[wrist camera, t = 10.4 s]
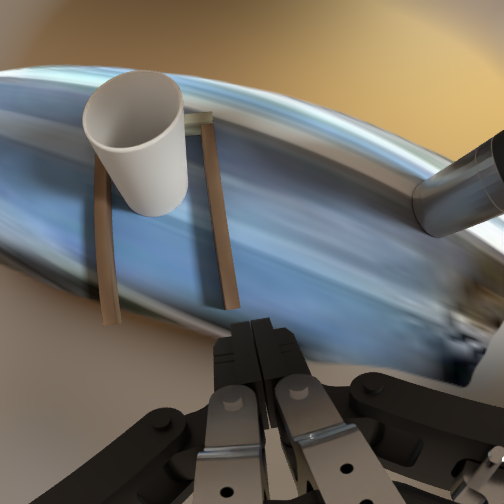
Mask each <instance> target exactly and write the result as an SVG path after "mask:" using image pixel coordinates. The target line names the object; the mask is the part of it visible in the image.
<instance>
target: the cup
mask: <svg viewBox="0 0 504 504" xmlns="http://www.w3.org/2000/svg"><path fill="white" fill-rule="evenodd" d="M83 128H84V131H85V134H86V136H87V138H88V140H89V141H90V143H91V145H92V147H93V148H94V150H95V152H96V154H97V155H98V157H99V159H100V160H101V162H102V164H103V165H104V167H105V169H106V170H107V172H108V174H109V175H110V177H111V179H112V180H113V182H114V184H115V185H116V187H117V188H118V190H119V192H120V193H121V195H122V196H123V198H124V200H125V201H126V203H127V204H128V206H129V207H130V208H131V209H132V210H133V211H135V212H136V213H138V214H140V215H143V216H147V217H158V216H162V215H165V214H168V213H170V212H171V211H173V210H174V209H176V208H177V207H178V206H179V205H180V204H181V202H182V201H183V199H184V197H185V195H186V193H187V189H188V176H187V161H186V146H185V128H184V108H183V97H182V93H181V90H180V88H179V86H178V85H177V84H176V83H175V81H173V80H172V79H171V78H170V77H168V76H166V75H164V74H162V73H159V72H155V71H149V70H138V71H131V72H127V73H124V74H121V75H118V76H116V77H114V78H112V79H110V80H108V81H107V82H105V83H104V84H103V85H101V86H100V87H99V88H98V89H97V90H96V91H95V92H94V93H93V95H92V96H91V97H90V99H89V100H88V102H87V104H86V106H85V109H84V112H83Z"/></svg>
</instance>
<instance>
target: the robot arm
mask: <svg viewBox="0 0 504 504" xmlns="http://www.w3.org/2000/svg"><path fill="white" fill-rule="evenodd" d="M413 209H414V213H415V216H416V218H417V220H418V222H419V224H420V225H421V227H422V228H423V229H424V230H425V231H426V232H427V233H428V234H430V235H431V236H434V237H438V238H440V237H445V236H447V235H450V234H453V233H456V232H458V231H461V230H464V229H467V228H469V227H472V226H475V225H477V224H480V223H482V222H485V221H488V220H490V219H493V218H495V217H498V216H500V215H503V214H504V130H503V131H501V132H500V133H498V134H497V135H495V136H494V137H492V138H491V139H489V140H488V141H486V142H484V143H483V144H481V145H480V146H479V147H477V148H476V149H474V150H473V151H471V152H469V153H468V154H466V155H465V156H463V157H462V158H460V159H458V160H457V161H455V162H454V163H452V164H451V165H449V166H447V167H446V168H444V169H443V170H441V171H440V172H438V173H436V174H435V175H433V176H432V177H430V178H428V179H427V180H425V181H424V182H422V183H420V184H419V185H418V186H417V187H416V188H415V190H414V193H413ZM230 325H231V334H232V336H231V337H224V338H219V339H218V340H217V342H216V343H215V345H214V347H213V355H214V393H213V394H212V395H211V397H210V400H209V404H208V405H207V406H205V407H204V408H202V409H200V410H198V411H196V412H193V413H190V414H187V415H183V414H182V413H181V412H180V411H179V410H176V409H174V408H159V409H155V410H153V411H151V412H149V413H148V414H146V415H145V416H144V417H143V418H141V419H140V420H139V421H138V422H137V423H135V424H134V425H133V426H132V427H130V428H129V429H128V430H127V431H126V432H125V433H123V434H122V435H121V436H119V437H118V438H117V439H116V440H114V441H113V442H112V443H111V444H109V445H108V446H107V447H105V448H104V449H103V450H102V451H100V452H99V453H98V454H96V455H95V456H94V457H93V458H91V459H90V460H89V461H87V462H86V463H85V464H83V465H82V466H81V467H79V468H78V469H77V470H76V471H74V472H73V473H71V474H70V475H69V476H67V477H66V478H64V479H63V480H62V481H60V482H59V483H58V484H56V485H55V486H54V487H52V488H51V489H49V490H48V491H46V492H45V493H44V494H42V495H41V496H39V497H38V498H36V499H35V500H34V501H32V502H31V503H29V504H182V503H183V502H184V501H185V500H186V499H187V498H188V497H189V496H190V495H191V494H192V493H193V504H504V408H501V407H496V406H492V405H488V404H484V403H480V402H476V401H473V400H468V399H465V398H461V397H458V396H454V395H451V394H447V393H444V392H440V391H437V390H433V389H429V388H426V387H423V386H420V385H416V384H413V383H410V382H407V381H404V380H401V379H397V378H394V377H391V376H388V375H385V374H382V373H377V372H369V373H364V374H361V375H359V376H358V377H356V378H355V379H354V380H353V381H352V383H351V385H350V386H346V387H345V386H343V387H342V386H341V387H334V386H327V385H323V384H321V382H320V381H319V380H318V379H317V378H316V377H314V376H312V375H311V373H310V370H309V368H308V366H307V363H306V361H305V359H304V357H303V354H302V352H301V350H300V347H299V345H298V343H297V341H296V338H295V336H294V334H293V333H292V332H291V331H289V330H288V329H286V328H285V327H284V328H279V329H273V327H272V324H271V321H270V318H269V317H268V318H262V319H256V320H251V328H252V332H251V328H250V323H249V321H244V322H238V323H231V324H230ZM252 335H253V337H252ZM265 403H266V404H265ZM266 407H267V411H266ZM267 412H268V416H269V421H270V425H271V428H276V427H278V430H279V434H280V441H281V446H282V450H283V452H284V455H285V458H286V461H287V463H288V466H289V469H290V472H291V474H292V477H293V480H294V482H295V485H296V488H297V492H298V497H297V498H295V499H292V500H270V493H269V483H268V473H267V462H266V451H265V444H266V438H265V432H264V430H266V429H269V424H268V417H267ZM384 468H385V469H388V470H390V471H393V472H395V473H398V474H401V475H403V476H406V477H408V478H411V479H414V480H417V481H420V482H423V483H426V484H429V485H432V486H435V487H438V488H441V489H444V490H448V491H450V495H451V498H452V500H453V501H451V500H448V499H445V498H442V497H439V496H437V495H434V494H431V493H428V492H426V491H423V490H420V489H417V488H415V487H413V486H410V485H408V484H405V483H401V482H397V481H391V479H390V477H389V476H388V474H387V473H386V471H385V470H384Z"/></svg>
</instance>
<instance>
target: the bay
mask: <svg viewBox="0 0 504 504" xmlns="http://www.w3.org/2000/svg"><path fill="white" fill-rule="evenodd" d="M184 128H185V136H192V135H201V142H202V151H203V159H204V168H205V176H206V184H207V192H208V199H209V207H210V214H211V222H212V229H213V236H214V243H215V250H216V257H217V264H218V270H219V277H220V283H221V290H222V296H223V302H224V309H225V310H230V309H237V308H240V301H239V295H238V289H237V283H236V277H235V270H234V264H233V258H232V251H231V245H230V238H229V232H228V225H227V219H226V212H225V205H224V198H223V191H222V185H221V178H220V171H219V164H218V156H217V149H216V142H215V135H214V127H213V116H212V112H203V113H192V114H184ZM94 220H95V246H96V262H97V275H98V285H99V295H100V304H101V311H102V319H103V325H104V326H105V325H115V324H121V323H122V321H121V314H120V307H119V299H118V290H117V281H116V271H115V260H114V246H113V230H112V202H111V177H110V175H109V174H108V172H107V170H106V169H105V167H104V165H103V164H102V162H101V160H100V159H99V157H98V155H97V154H96V155H95V181H94Z"/></svg>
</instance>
